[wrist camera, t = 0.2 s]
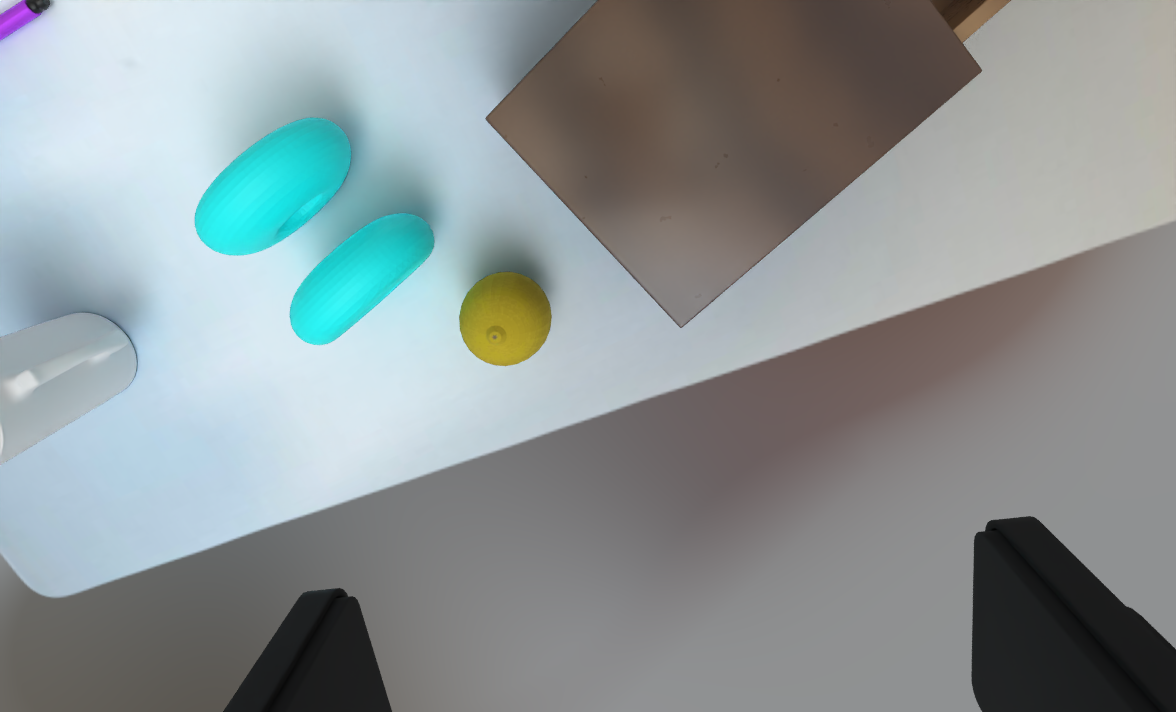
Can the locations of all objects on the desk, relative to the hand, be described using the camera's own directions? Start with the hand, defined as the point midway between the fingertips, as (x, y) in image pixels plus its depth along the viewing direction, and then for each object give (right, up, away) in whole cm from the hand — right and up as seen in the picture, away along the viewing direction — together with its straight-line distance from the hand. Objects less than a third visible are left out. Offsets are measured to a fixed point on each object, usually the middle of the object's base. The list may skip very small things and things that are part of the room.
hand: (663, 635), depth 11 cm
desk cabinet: (+6, +20, +32) cm, 38 cm away
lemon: (-6, +8, +37) cm, 38 cm away
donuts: (-16, +13, +36) cm, 42 cm away
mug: (-34, +5, +39) cm, 53 cm away
